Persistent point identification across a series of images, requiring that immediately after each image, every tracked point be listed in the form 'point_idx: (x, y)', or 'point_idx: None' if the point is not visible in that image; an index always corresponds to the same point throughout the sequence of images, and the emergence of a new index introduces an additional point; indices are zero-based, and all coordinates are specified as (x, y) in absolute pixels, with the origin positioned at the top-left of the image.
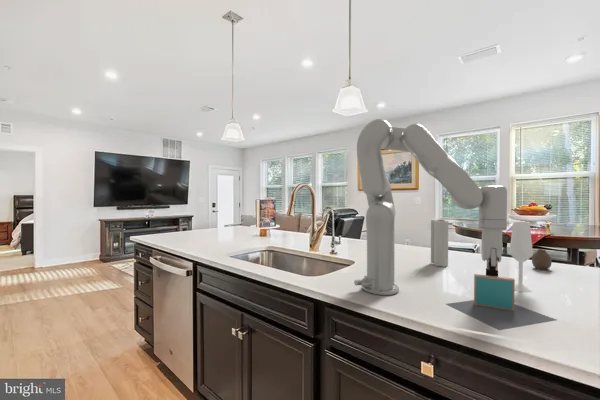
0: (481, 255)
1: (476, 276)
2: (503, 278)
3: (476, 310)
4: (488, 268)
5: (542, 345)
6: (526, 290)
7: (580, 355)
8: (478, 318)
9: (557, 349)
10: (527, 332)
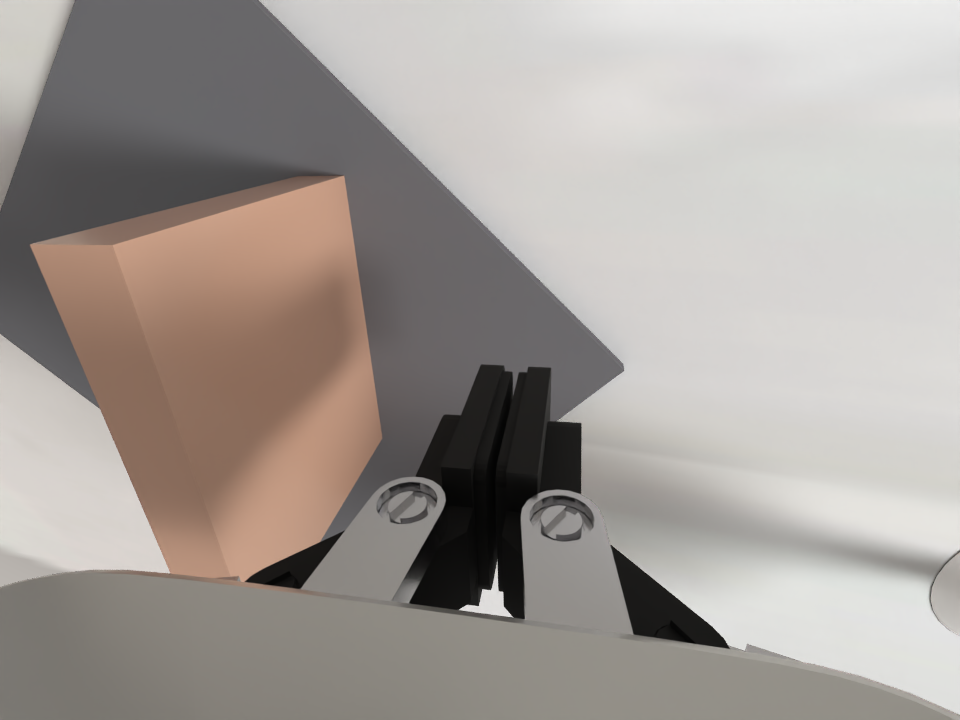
0: (637, 689)
1: (57, 271)
2: (170, 563)
3: (171, 193)
4: (372, 513)
5: (4, 449)
6: (953, 615)
7: (32, 536)
8: (25, 203)
9: (16, 487)
10: (92, 428)
